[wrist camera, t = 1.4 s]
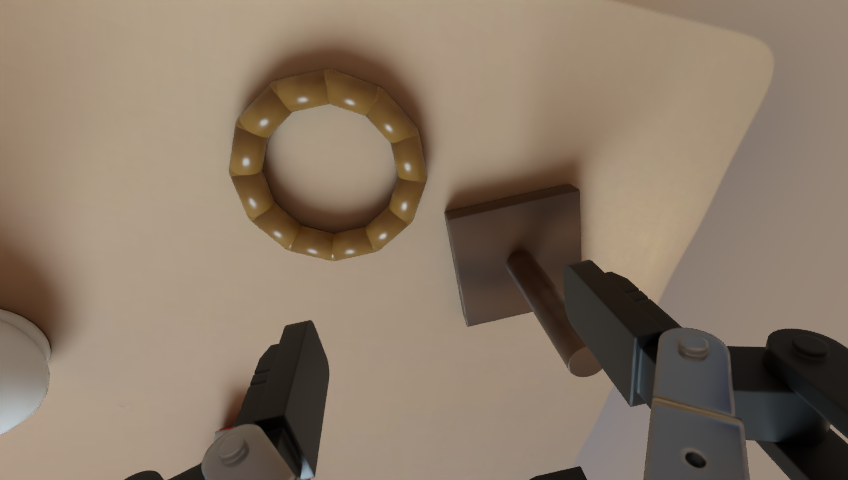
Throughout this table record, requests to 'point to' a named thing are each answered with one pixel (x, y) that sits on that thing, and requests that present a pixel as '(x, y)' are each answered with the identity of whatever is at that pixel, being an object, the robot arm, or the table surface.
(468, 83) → the table surface
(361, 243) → the ring
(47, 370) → the flower vase
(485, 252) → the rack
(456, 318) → the table surface
